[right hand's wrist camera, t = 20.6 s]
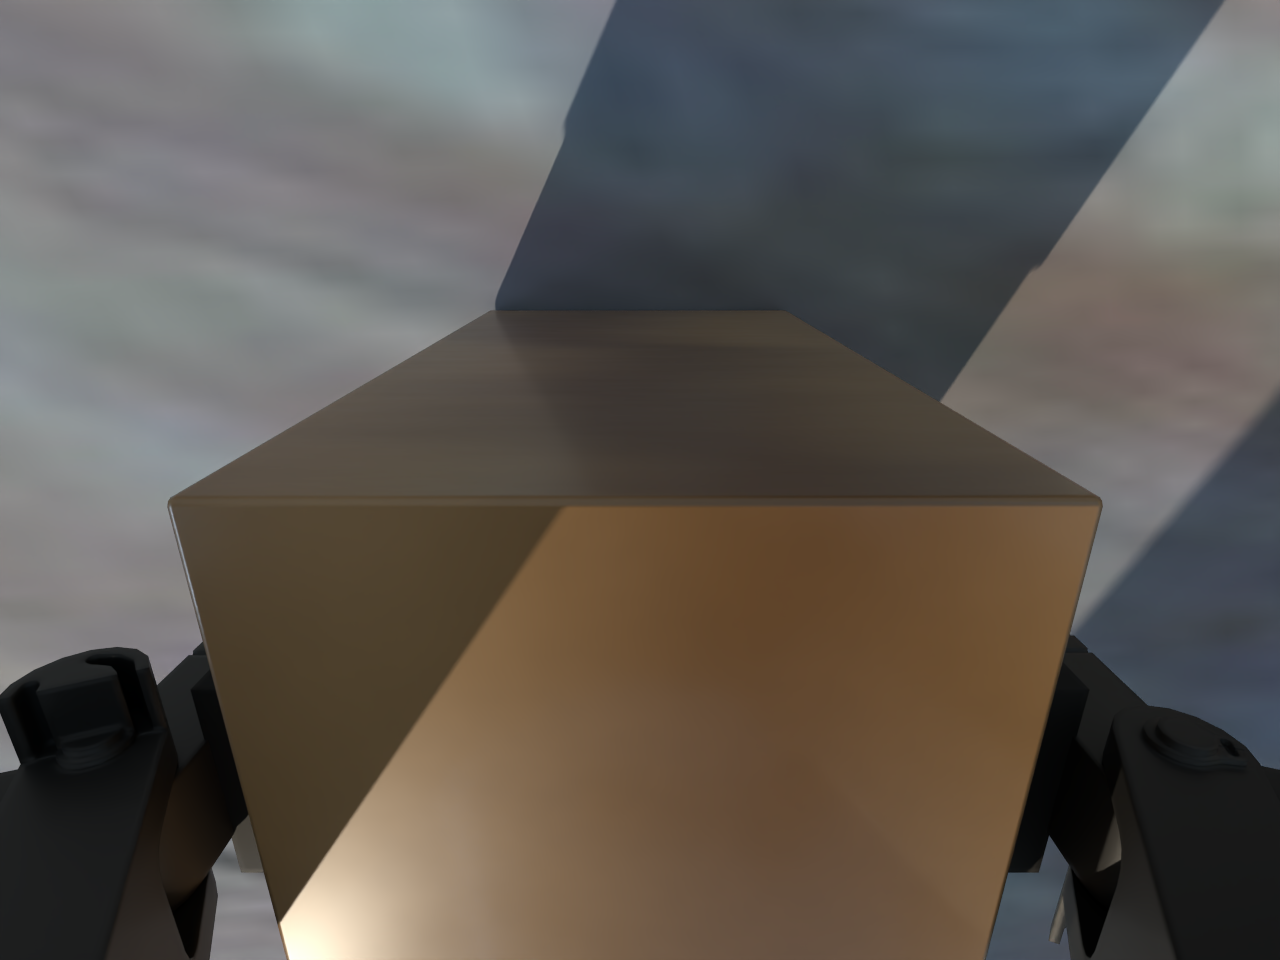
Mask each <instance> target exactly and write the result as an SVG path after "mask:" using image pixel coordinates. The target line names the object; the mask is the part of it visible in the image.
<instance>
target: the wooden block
mask: <svg viewBox="0 0 1280 960" xmlns="http://www.w3.org/2000/svg"><path fill="white" fill-rule="evenodd" d="M1102 507H1103V506H1102V500H1101V499H1100V497H1098V496H1097V495H1095V494H1093V493H1092V492H1090V491H1088V490H1087V489H1085V488H1083V487H1082V486H1080V485H1078V484H1076V483H1075V482H1073V481H1071V480H1070V479H1068V478H1066V477H1065V476H1063V475H1061V474H1060V473H1058V472H1056V471H1055V470H1053V469H1051V468H1050V467H1048V466H1046V465H1045V464H1043V463H1041V462H1039V461H1038V460H1036V459H1034V458H1033V457H1031V456H1029V455H1028V454H1026V453H1024V452H1023V451H1021V450H1019V449H1018V448H1016V447H1014V446H1013V445H1011V444H1009V443H1007V442H1006V441H1004V440H1002V439H1001V438H999V437H997V436H996V435H994V434H992V433H991V432H989V431H987V430H986V429H984V428H982V427H981V426H979V425H977V424H976V423H974V422H972V421H970V420H969V419H967V418H965V417H964V416H962V415H960V414H959V413H957V412H955V411H954V410H952V409H950V408H949V407H947V406H945V405H944V404H942V403H940V402H938V401H937V400H935V399H933V398H932V397H930V396H928V395H927V394H925V393H923V392H922V391H920V390H918V389H917V388H915V387H913V386H912V385H910V384H908V383H907V382H905V381H903V380H901V379H900V378H898V377H896V376H895V375H893V374H891V373H890V372H888V371H886V370H885V369H883V368H881V367H880V366H878V365H876V364H875V363H873V362H871V361H869V360H868V359H866V358H864V357H863V356H861V355H859V354H858V353H856V352H854V351H853V350H851V349H849V348H848V347H846V346H844V345H843V344H841V343H839V342H838V341H836V340H834V339H832V338H831V337H829V336H827V335H826V334H824V333H822V332H821V331H819V330H817V329H816V328H814V327H812V326H811V325H809V324H807V323H806V322H804V321H802V320H800V319H799V318H797V317H795V316H794V315H792V314H790V313H789V312H787V311H785V310H783V311H489V312H487V313H486V314H484V315H482V316H480V317H479V318H477V319H475V320H474V321H472V322H470V323H468V324H467V325H465V326H463V327H462V328H460V329H458V330H456V331H455V332H453V333H451V334H450V335H448V336H446V337H444V338H443V339H441V340H439V341H438V342H436V343H434V344H432V345H431V346H429V347H427V348H426V349H424V350H422V351H421V352H419V353H417V354H415V355H414V356H412V357H410V358H409V359H407V360H405V361H403V362H402V363H400V364H398V365H397V366H395V367H393V368H391V369H390V370H388V371H386V372H385V373H383V374H381V375H379V376H378V377H376V378H374V379H373V380H371V381H369V382H367V383H366V384H364V385H362V386H361V387H359V388H357V389H356V390H354V391H352V392H350V393H349V394H347V395H345V396H344V397H342V398H340V399H338V400H337V401H335V402H333V403H332V404H330V405H328V406H326V407H325V408H323V409H321V410H320V411H318V412H316V413H314V414H313V415H311V416H309V417H308V418H306V419H304V420H302V421H301V422H299V423H297V424H296V425H294V426H292V427H291V428H289V429H287V430H285V431H284V432H282V433H280V434H279V435H277V436H275V437H273V438H272V439H270V440H268V441H267V442H265V443H263V444H261V445H260V446H258V447H256V448H255V449H253V450H251V451H249V452H248V453H246V454H244V455H243V456H241V457H239V458H237V459H236V460H234V461H232V462H231V463H229V464H227V465H225V466H224V467H222V468H220V469H219V470H217V471H215V472H214V473H212V474H210V475H208V476H207V477H205V478H203V479H202V480H200V481H198V482H196V483H195V484H193V485H191V486H190V487H188V488H186V489H184V490H183V491H181V492H179V493H178V494H176V495H174V496H172V497H171V498H170V499H169V501H168V511H169V515H170V519H171V522H172V526H173V530H174V534H175V537H176V541H177V545H178V549H179V553H180V556H181V560H182V564H183V568H184V572H185V575H186V579H187V583H188V587H189V591H190V594H191V598H192V602H193V606H194V609H195V613H196V617H197V621H198V625H199V628H200V632H201V636H202V640H203V644H204V647H205V651H206V655H207V659H208V662H209V666H210V670H211V674H212V678H213V681H214V685H215V689H216V693H217V697H218V700H219V704H220V708H221V712H222V716H223V719H224V723H225V727H226V731H227V734H228V738H229V742H230V746H231V750H232V753H233V757H234V761H235V765H236V769H237V772H238V776H239V780H240V784H241V788H242V791H243V795H244V799H245V803H246V806H247V810H248V814H249V818H250V822H251V825H252V829H253V833H254V837H255V841H256V844H257V848H258V852H259V856H260V859H261V863H262V867H263V871H264V875H265V878H266V882H267V886H268V890H269V894H270V897H271V901H272V905H273V909H274V913H275V916H276V920H277V924H278V928H279V931H280V935H281V939H282V943H283V947H284V950H285V954H286V958H287V960H986V956H987V952H988V948H989V944H990V941H991V937H992V933H993V929H994V925H995V921H996V917H997V914H998V910H999V906H1000V902H1001V898H1002V894H1003V890H1004V886H1005V883H1006V879H1007V875H1008V871H1009V867H1010V863H1011V859H1012V855H1013V852H1014V848H1015V844H1016V840H1017V836H1018V832H1019V828H1020V824H1021V821H1022V817H1023V813H1024V809H1025V805H1026V801H1027V797H1028V794H1029V790H1030V786H1031V782H1032V778H1033V774H1034V770H1035V766H1036V763H1037V759H1038V755H1039V751H1040V747H1041V743H1042V739H1043V735H1044V732H1045V728H1046V724H1047V720H1048V716H1049V712H1050V708H1051V705H1052V701H1053V697H1054V693H1055V689H1056V685H1057V681H1058V677H1059V674H1060V670H1061V666H1062V662H1063V658H1064V654H1065V650H1066V646H1067V643H1068V639H1069V635H1070V631H1071V627H1072V623H1073V619H1074V615H1075V612H1076V608H1077V604H1078V600H1079V596H1080V592H1081V588H1082V585H1083V581H1084V577H1085V573H1086V569H1087V565H1088V561H1089V557H1090V554H1091V550H1092V546H1093V542H1094V538H1095V534H1096V530H1097V526H1098V523H1099V519H1100V515H1101V511H1102Z"/></svg>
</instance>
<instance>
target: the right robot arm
mask: <svg viewBox="0 0 1280 960" xmlns="http://www.w3.org/2000/svg"><path fill="white" fill-rule="evenodd" d="M0 714H1V716H2V719H3V721H4V724H5V726H6V729H7V731H8V734H9V736H10V739H11V741H12V744H13V746H14V749H15V751H16V754H17V756H18V758H19V761H20V763H21V765H20V767H19V768H18V770H13V771H8V772H3V773H0V960H209V959H210V951H211V944H212V936H213V929H214V921H215V913H216V906H217V898H218V894H217V887H216V881H215V878H214V874H213V871H212V866H213V865H214V863H215V862H216V860H217V859H218V857H219V856H220V854H221V853H222V851H223V850H224V848H225V847H226V845H227V844H228V842H229V841H230V839H231V838H232V841H233V844H234V848H235V851H236V855H237V858H238V862H239V866H240V869H241V872H264V871H263V867H262V863H261V859H260V856H259V852H258V848H257V844H256V841H255V837H254V833H253V829H252V825H251V822H250V818H249V814H248V810H247V806H246V803H245V799H244V795H243V791H242V788H241V784H240V780H239V776H238V772H237V769H236V765H235V761H234V757H233V753H232V750H231V746H230V742H229V738H228V734H227V731H226V727H225V723H224V719H223V716H222V712H221V708H220V704H219V700H218V697H217V693H216V689H215V685H214V681H213V678H212V674H211V670H210V666H209V662H208V659H207V655H206V651H205V647H204V644H203V642H202V643H201V644H200V645H199V646H198V647H197V648H196V649H195V650H194V651H193V655H188V656H187V657H186V658H185V659H184V660H183V661H182V662H181V663H180V664H179V665H178V666H177V667H176V668H175V669H174V670H173V671H172V672H171V673H170V674H169V675H167V676H166V677H165V678H164V679H163V680H162V681H161V682H160V683H159V684H158V685H157V684H156V681H155V678H154V674H153V671H152V668H151V664H150V661H149V658H148V656H147V655H145V654H144V653H142V652H141V651H139V650H137V649H131V648H122V647H113V648H105V649H96V650H90V651H86V652H83V653H79V654H75V655H72V656H68V657H64V658H61V659H59V660H57V661H54V662H52V663H49V664H47V665H45V666H42V667H40V668H38V669H35V670H33V671H32V672H30V673H29V674H27V675H25V676H24V677H22V678H20V679H19V680H17V681H16V682H14V683H12V684H11V685H10V686H9V687H8V688H7V689H6V690H5V691H4V692H3V693H2V694H1V695H0ZM1049 836H1050V837H1051V839H1052V840H1053V841H1054V843H1055V844H1056V846H1057V847H1058V849H1059V850H1060V852H1061V853H1062V855H1063V856H1064V858H1065V859H1066V861H1067V862H1068V864H1069V868H1068V871H1067V874H1066V878H1065V881H1064V884H1063V888H1062V891H1061V894H1060V898H1059V901H1058V904H1057V908H1056V911H1055V914H1054V918H1053V921H1052V924H1051V930H1050V936H1049V941H1051V942H1054V943H1057V944H1060V940H1061V937H1062V934H1063V931H1064V928H1066V927H1067V934H1068V942H1069V949H1070V957H1071V960H1280V770H1278V769H1273V768H1268V767H1263V766H1261V765H1260V763H1259V762H1258V761H1257V760H1256V758H1255V757H1254V756H1253V755H1252V754H1251V752H1250V751H1249V750H1248V749H1247V748H1246V746H1244V745H1243V744H1242V743H1240V742H1239V741H1237V740H1236V739H1235V738H1233V737H1232V736H1230V735H1229V734H1228V733H1226V732H1225V731H1224V730H1222V729H1220V728H1218V727H1216V726H1214V725H1211V724H1209V723H1207V722H1205V721H1203V720H1201V719H1199V718H1197V717H1194V716H1191V715H1188V714H1185V713H1182V712H1179V711H1175V710H1172V709H1169V708H1162V707H1154V706H1148V705H1147V704H1146V703H1145V702H1143V701H1142V700H1141V699H1140V698H1139V697H1138V696H1137V695H1136V694H1135V693H1134V692H1133V691H1132V690H1131V689H1130V688H1129V687H1128V686H1127V685H1126V684H1125V683H1123V682H1122V681H1121V680H1120V679H1119V678H1118V677H1117V676H1116V675H1115V674H1114V673H1113V672H1112V671H1111V670H1110V669H1109V668H1108V667H1107V666H1106V665H1104V664H1103V663H1102V662H1101V661H1100V660H1099V659H1098V658H1097V657H1096V656H1095V655H1094V654H1093V653H1088V651H1087V647H1086V646H1084V645H1083V644H1082V643H1081V642H1080V641H1079V640H1078V639H1077V638H1076V637H1075V636H1070V635H1069V639H1068V643H1067V646H1066V650H1065V654H1064V658H1063V662H1062V666H1061V670H1060V674H1059V677H1058V681H1057V685H1056V689H1055V693H1054V697H1053V701H1052V705H1051V708H1050V712H1049V716H1048V720H1047V724H1046V728H1045V732H1044V735H1043V739H1042V743H1041V747H1040V751H1039V755H1038V759H1037V763H1036V766H1035V770H1034V774H1033V778H1032V782H1031V786H1030V790H1029V794H1028V797H1027V801H1026V805H1025V809H1024V813H1023V817H1022V821H1021V824H1020V828H1019V832H1018V836H1017V840H1016V844H1015V848H1014V852H1013V855H1012V859H1011V863H1010V867H1009V871H1008V872H1039V869H1040V866H1041V862H1042V859H1043V855H1044V851H1045V848H1046V844H1047V841H1048V837H1049Z"/></svg>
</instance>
